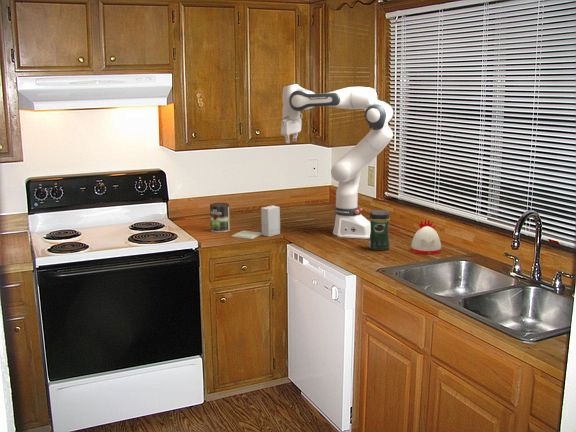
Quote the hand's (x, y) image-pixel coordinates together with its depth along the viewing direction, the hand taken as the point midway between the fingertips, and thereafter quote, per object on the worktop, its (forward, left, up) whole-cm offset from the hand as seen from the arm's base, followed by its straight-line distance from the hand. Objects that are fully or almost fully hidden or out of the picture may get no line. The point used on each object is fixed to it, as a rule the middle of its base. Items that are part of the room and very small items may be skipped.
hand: (291, 142), depth 342 cm
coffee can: (+33, +20, -47) cm, 60 cm away
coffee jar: (-56, +20, -46) cm, 75 cm away
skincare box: (+3, +18, -46) cm, 50 cm away
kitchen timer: (-77, +14, -47) cm, 91 cm away
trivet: (+14, +24, -46) cm, 54 cm away
